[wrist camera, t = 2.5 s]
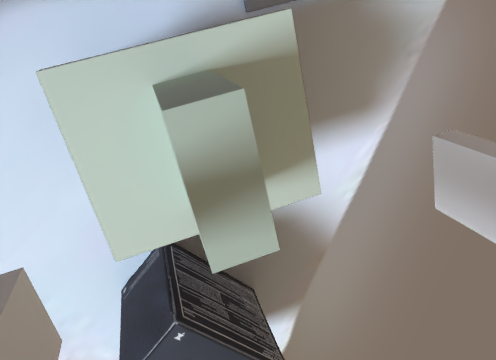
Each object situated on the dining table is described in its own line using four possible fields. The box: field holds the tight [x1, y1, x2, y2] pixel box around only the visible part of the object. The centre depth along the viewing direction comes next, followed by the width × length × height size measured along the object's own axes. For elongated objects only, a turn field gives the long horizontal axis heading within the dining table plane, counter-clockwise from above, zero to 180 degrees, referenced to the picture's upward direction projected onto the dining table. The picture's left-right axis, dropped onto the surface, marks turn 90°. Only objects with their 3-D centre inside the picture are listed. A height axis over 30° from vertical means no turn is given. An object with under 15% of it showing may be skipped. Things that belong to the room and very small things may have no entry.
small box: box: [119, 243, 284, 360], centre depth 31 cm, size 11×6×10 cm, turn 50°
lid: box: [36, 9, 321, 274], centre depth 19 cm, size 11×13×8 cm
